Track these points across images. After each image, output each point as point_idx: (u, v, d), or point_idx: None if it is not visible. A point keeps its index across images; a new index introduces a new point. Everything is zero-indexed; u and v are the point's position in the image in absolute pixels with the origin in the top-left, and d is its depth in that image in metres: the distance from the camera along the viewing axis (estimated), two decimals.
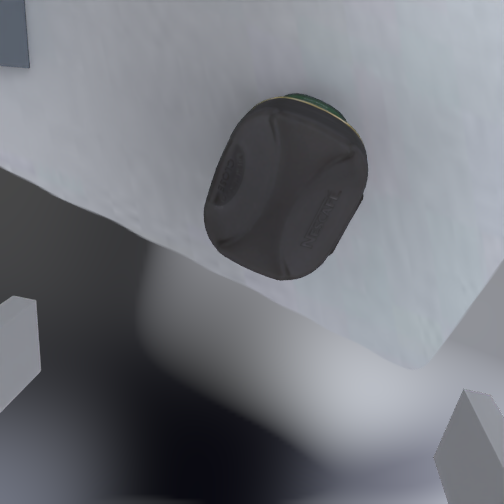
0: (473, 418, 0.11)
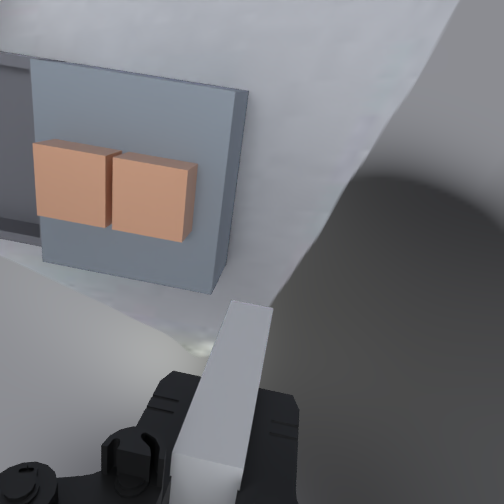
0: (247, 322, 0.13)
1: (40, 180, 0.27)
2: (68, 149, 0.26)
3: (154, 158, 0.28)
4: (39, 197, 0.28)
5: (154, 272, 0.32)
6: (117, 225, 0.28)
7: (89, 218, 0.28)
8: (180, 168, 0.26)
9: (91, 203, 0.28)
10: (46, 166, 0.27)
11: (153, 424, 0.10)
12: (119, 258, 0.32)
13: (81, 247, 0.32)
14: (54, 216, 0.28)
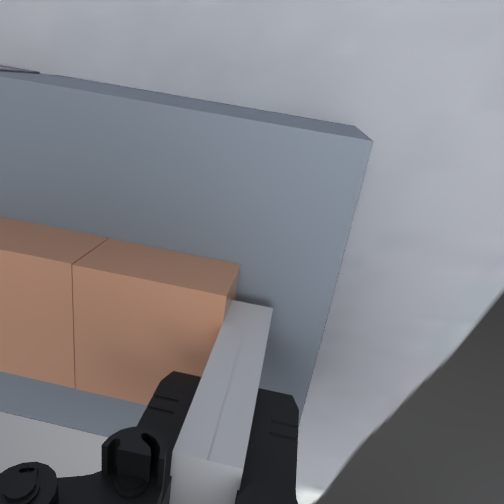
0: (247, 322, 0.13)
1: None
2: None
3: (157, 257, 0.14)
4: None
5: None
6: (85, 383, 0.15)
7: (45, 371, 0.15)
8: (210, 289, 0.13)
9: (46, 345, 0.14)
10: None
11: (153, 424, 0.10)
12: (126, 414, 0.18)
13: (60, 393, 0.18)
14: None
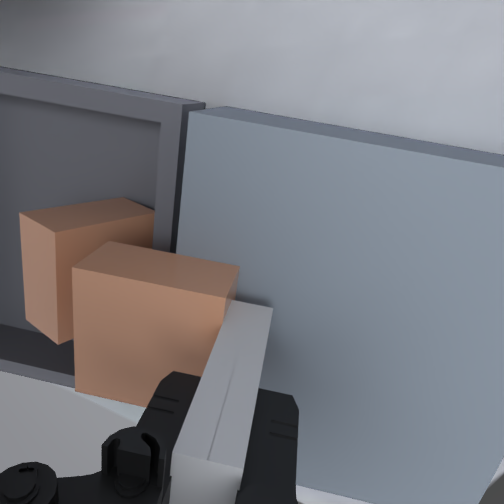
0: (247, 322, 0.13)
1: None
2: (79, 204, 0.18)
3: (157, 259, 0.14)
4: None
5: (365, 485, 0.18)
6: (85, 385, 0.15)
7: None
8: (210, 291, 0.13)
9: None
10: None
11: (153, 424, 0.10)
12: (303, 458, 0.18)
13: None
14: None
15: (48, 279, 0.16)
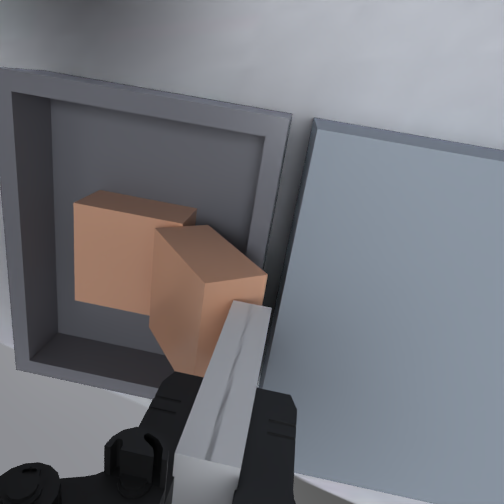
0: (245, 322, 0.13)
1: None
2: (148, 200, 0.20)
3: (213, 244, 0.16)
4: None
5: (457, 492, 0.18)
6: (152, 324, 0.19)
7: None
8: (203, 275, 0.14)
9: None
10: None
11: (155, 425, 0.10)
12: (397, 467, 0.18)
13: (328, 446, 0.18)
14: None
15: None
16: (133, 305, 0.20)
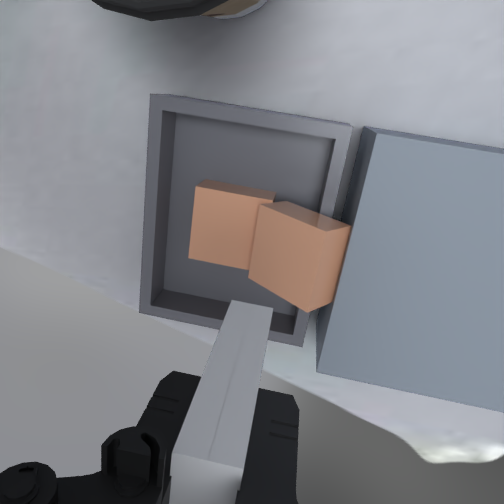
0: (247, 322, 0.13)
1: None
2: (241, 186, 0.28)
3: (304, 212, 0.24)
4: None
5: (469, 391, 0.25)
6: (253, 275, 0.26)
7: None
8: (320, 227, 0.22)
9: None
10: None
11: (153, 424, 0.10)
12: (426, 373, 0.25)
13: (376, 358, 0.25)
14: None
15: None
16: (231, 261, 0.27)
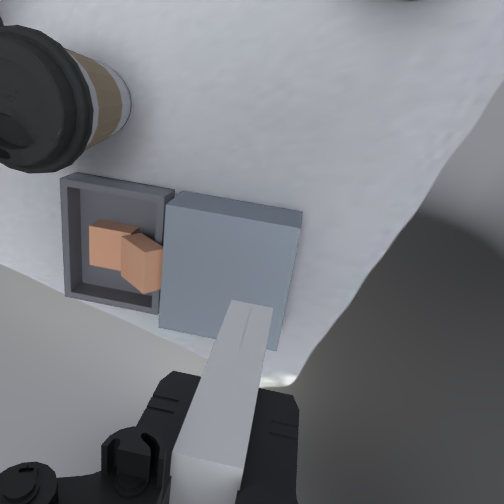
0: (247, 322, 0.13)
1: None
2: (119, 223, 0.49)
3: (145, 240, 0.45)
4: None
5: None
6: (122, 274, 0.47)
7: None
8: (144, 250, 0.43)
9: None
10: None
11: (153, 424, 0.10)
12: (214, 326, 0.46)
13: (187, 318, 0.46)
14: None
15: None
16: (113, 266, 0.48)
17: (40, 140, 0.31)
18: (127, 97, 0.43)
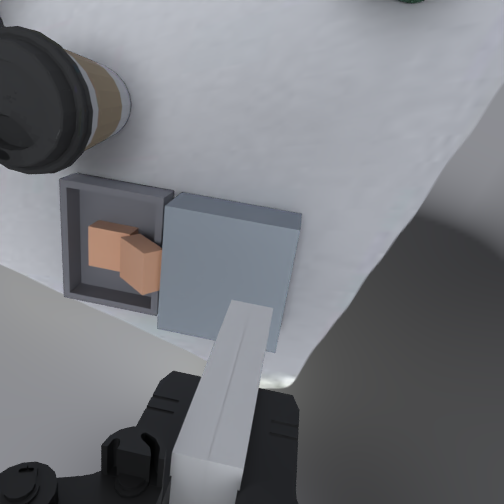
0: (247, 322, 0.13)
1: None
2: (118, 224, 0.49)
3: (144, 241, 0.45)
4: None
5: None
6: (121, 275, 0.47)
7: None
8: (143, 251, 0.43)
9: None
10: None
11: (153, 424, 0.10)
12: (212, 327, 0.46)
13: (186, 320, 0.46)
14: None
15: None
16: (112, 267, 0.48)
17: (40, 141, 0.31)
18: (127, 98, 0.43)
